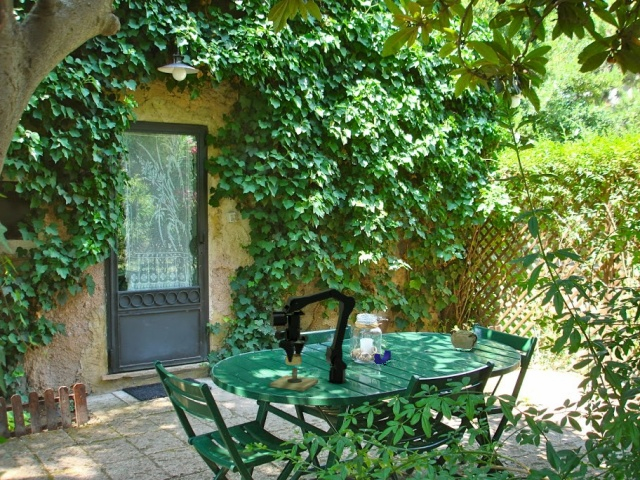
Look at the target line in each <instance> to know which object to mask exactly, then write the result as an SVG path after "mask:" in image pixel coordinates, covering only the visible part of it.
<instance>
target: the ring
mask: <svg viewBox="0 0 640 480" xmlns="http://www.w3.org/2000/svg"><path fill="white" fill-rule="evenodd" d="M302 360H303V356H302V354H295V353H294V355H293V359H292V362H289V361H288V358H287V354H286V355H285V364H286V365H288V366H298V365H302Z"/></svg>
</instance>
